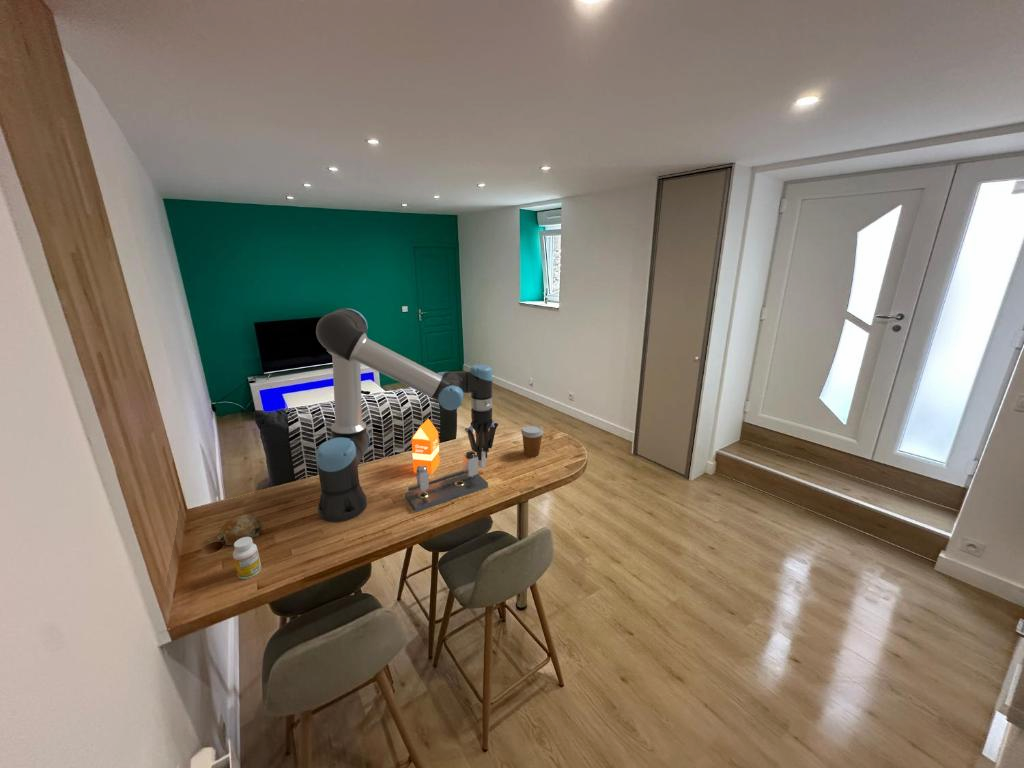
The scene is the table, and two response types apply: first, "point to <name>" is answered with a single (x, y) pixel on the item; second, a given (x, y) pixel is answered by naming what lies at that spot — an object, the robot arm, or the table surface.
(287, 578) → the table surface
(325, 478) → the robot arm
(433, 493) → the plate
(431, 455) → the orange juice
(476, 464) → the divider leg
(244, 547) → the supplement bottle
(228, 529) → the bread roll
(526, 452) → the disposable coffee cup
